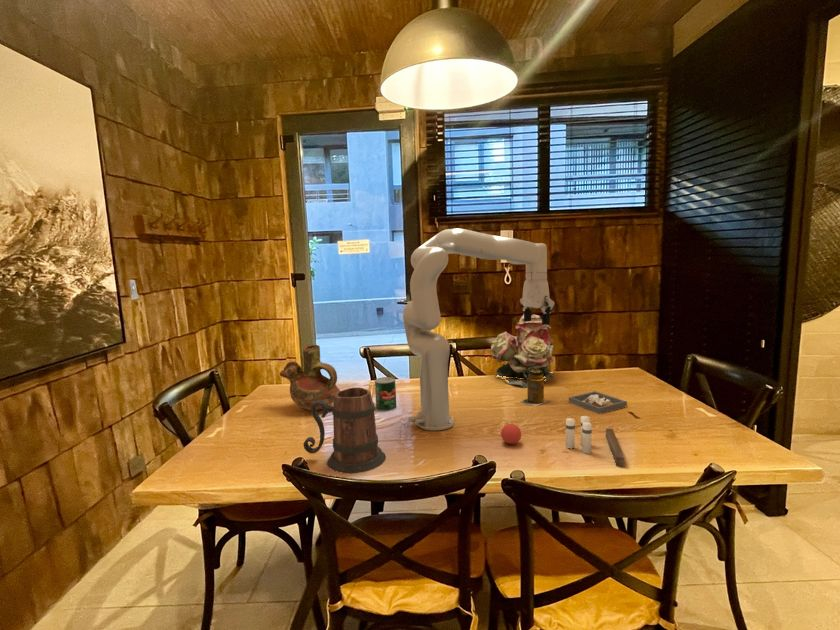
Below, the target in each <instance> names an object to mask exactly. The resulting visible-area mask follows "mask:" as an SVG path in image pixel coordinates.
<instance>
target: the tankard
mask: <svg viewBox="0 0 840 630" xmlns="http://www.w3.org/2000/svg"><path fill="white" fill-rule="evenodd" d="M316 405H320V406H322V409H321V413H322V414H321V416H320V415H319V413H318V410H317V411H316ZM375 411H376V404H375V402H374V401H373V397H372V393H371V390H370V389H366V388H364V387H358V386H357V387H347V388H346V389H343V390H340V391H338V392H336V393H335V396H334V403H333V404H332V407H330V406H329V405H328V404H327V403H326V402H324V401H322V400H318V401H316V402H314V404H313V405H312V406H311V411H310V412H311V413H310V414H311V415H312V417H313V419H314V421H315V422H316V424H317V427H318V429H319V442H318V443H319V444H318V445H317V446H316V447H314V446H315V444H316V439H315V438H314V437H312V436H308V437H306V439H305V440H304V441H303V449H304V450H305V451H306V452H307V454H308V453H309V454H316V453H318V452H319V451H320V449H321V448H322V446H323V445H324V440H325V425H324V422H323V420H322V419H323V418H325V417H326V416H327V415H328V413H329V412H331V414H332V419H333V421H332V423H333V438H332V447H333V452H332V453H330V457H329V458H328V459H327V461H326V466H327V467H328V469H330V468H331V469H332V471H333V470H334V472H336V471H337V472H336V473H340V472H342V474H360V473H365V472H370V471H372V470H375V469H377V468H378V467H380V466H381V465H383V464H384V462H386V459H387V456H386V454H385V452H384V451H382V448H381V447H379V435H378V434H377V426H376V425H377V424H376V416H375V414H376V413H375ZM331 469H330V470H331Z"/></svg>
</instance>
